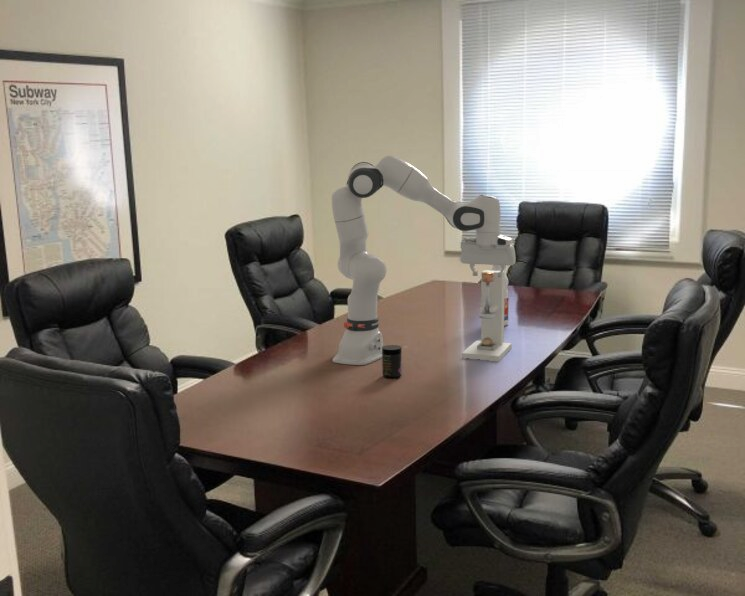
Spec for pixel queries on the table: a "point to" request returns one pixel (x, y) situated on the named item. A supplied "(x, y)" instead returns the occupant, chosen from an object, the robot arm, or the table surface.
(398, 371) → the supplement container
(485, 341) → the walnut
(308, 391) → the table surface
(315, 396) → the table surface
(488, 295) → the plunger
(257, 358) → the table surface
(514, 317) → the table surface
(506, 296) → the fruit juice
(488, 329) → the press frame
